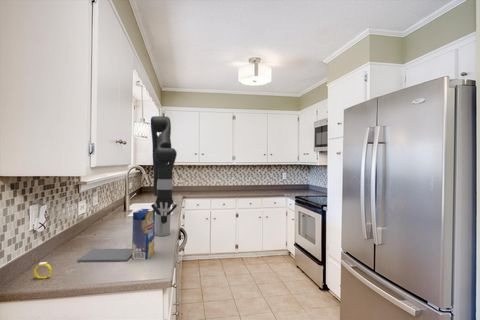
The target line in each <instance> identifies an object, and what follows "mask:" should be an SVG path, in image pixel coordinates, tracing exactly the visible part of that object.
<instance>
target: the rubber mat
mask: <svg viewBox="0 0 480 320" xmlns="http://www.w3.org/2000/svg"><path fill="white" fill-rule="evenodd" d="M131 259H132V248H92V249H91V250H89V251H88V252H86V253H85V254H83V255H82V256H81V257H79V258H78V259H77V260H76V261H77V263H114V262H115V263H117V262H119V263H121V262H123V263H125V262H126V263H128V262H129V260H131Z"/></svg>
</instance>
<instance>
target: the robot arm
mask: <svg viewBox="0 0 480 320" xmlns="http://www.w3.org/2000/svg"><path fill="white" fill-rule="evenodd" d="M171 127H172V123H171V118H170V117H169V116H161V115H160V116H157V115H156V116H152V117H150V131H151V141H152V167H153V195H154V196H155V197H156V199H155V202H154V203H152V204H151V205H150V207H151V209H154V211H155V236H157V237H167V236H169V235H171V215H172V213H173V212H174V210H175V209H176V208H177V207H178V204H177V203H175V202H174V199H173V193H174V192H173V188H174V186H173V185H174V184H173V183H174V182H173V169H174V165H175V163H176V159H177V150H176V149H175V148H174V147H173V148H172V142H171V135H172V133H171V132H172V128H171ZM158 133H160V134H159V135H158Z"/></svg>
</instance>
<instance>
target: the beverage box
mask: <svg viewBox="0 0 480 320" xmlns="http://www.w3.org/2000/svg"><path fill="white" fill-rule="evenodd" d="M155 236H156V235H155V211H154V209H153V208H141V209H138V210H136V211H134V212H132V241H131V242H132V246H131V249H132V257H131V259H132V260H145V261H146V260H147V259H149V258H150V257H151V256H152V255H153V254H154V253H155Z"/></svg>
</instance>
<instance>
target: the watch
mask: <svg viewBox="0 0 480 320" xmlns="http://www.w3.org/2000/svg"><path fill="white" fill-rule="evenodd" d="M43 266H45V267H47V268H48V275H47V276H40V275H39V274H38V271H37V270H38V268H39V267H43ZM52 273H53V268H52V266H51V265H50V264H49V263H48V261H42V262H39V263H38V264H37V265H36V266H35V267H34V269H33V275H34V277H35V278H36V279H38V280H39V279H40V280H41V279H47V278H49V277H50V276H51V275H52Z"/></svg>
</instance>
